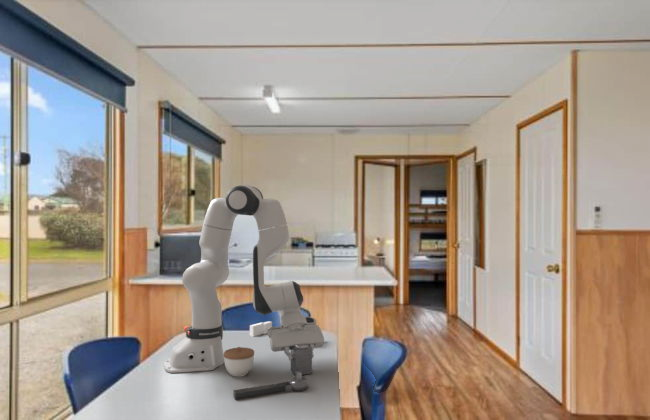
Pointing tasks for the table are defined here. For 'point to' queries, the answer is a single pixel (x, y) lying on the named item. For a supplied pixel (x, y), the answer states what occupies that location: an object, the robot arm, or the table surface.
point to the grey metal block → (301, 358)
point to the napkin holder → (260, 328)
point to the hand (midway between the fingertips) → (301, 358)
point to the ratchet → (274, 388)
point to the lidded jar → (239, 360)
